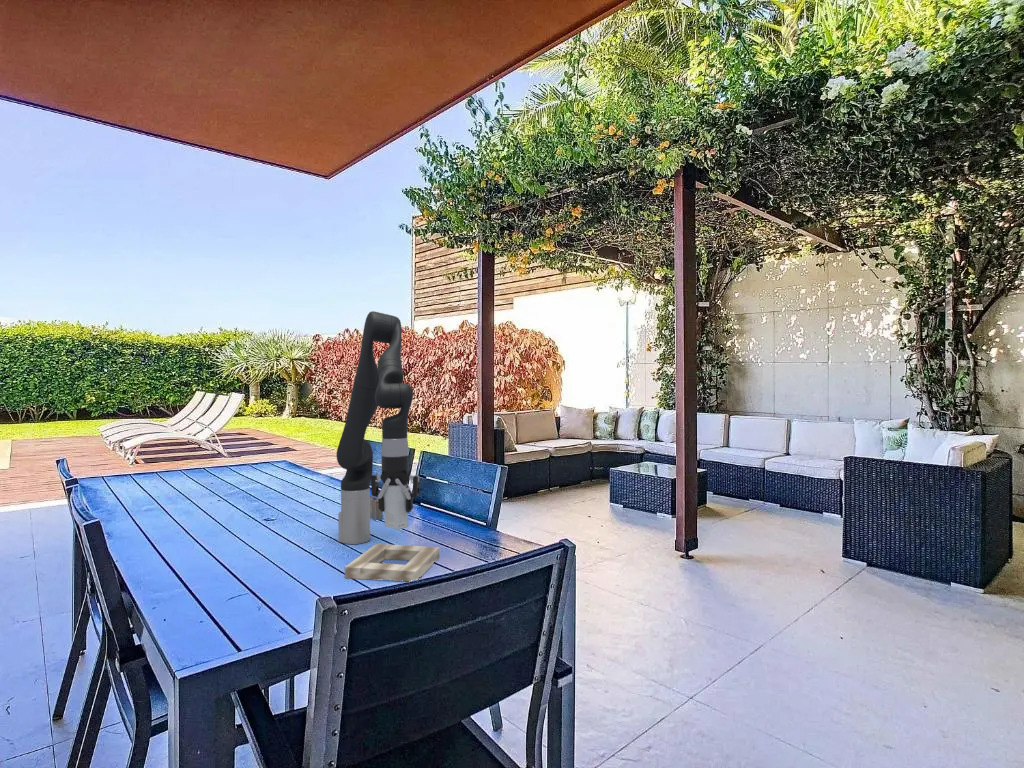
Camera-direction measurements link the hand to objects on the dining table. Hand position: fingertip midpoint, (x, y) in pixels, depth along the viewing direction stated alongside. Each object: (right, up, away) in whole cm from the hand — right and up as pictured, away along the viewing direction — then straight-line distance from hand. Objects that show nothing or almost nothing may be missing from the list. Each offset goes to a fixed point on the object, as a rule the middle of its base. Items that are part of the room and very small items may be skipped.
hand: (395, 511), depth 164 cm
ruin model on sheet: (-19, -15, +55) cm, 60 cm away
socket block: (0, -16, 0) cm, 16 cm away
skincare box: (0, -5, 0) cm, 5 cm away
